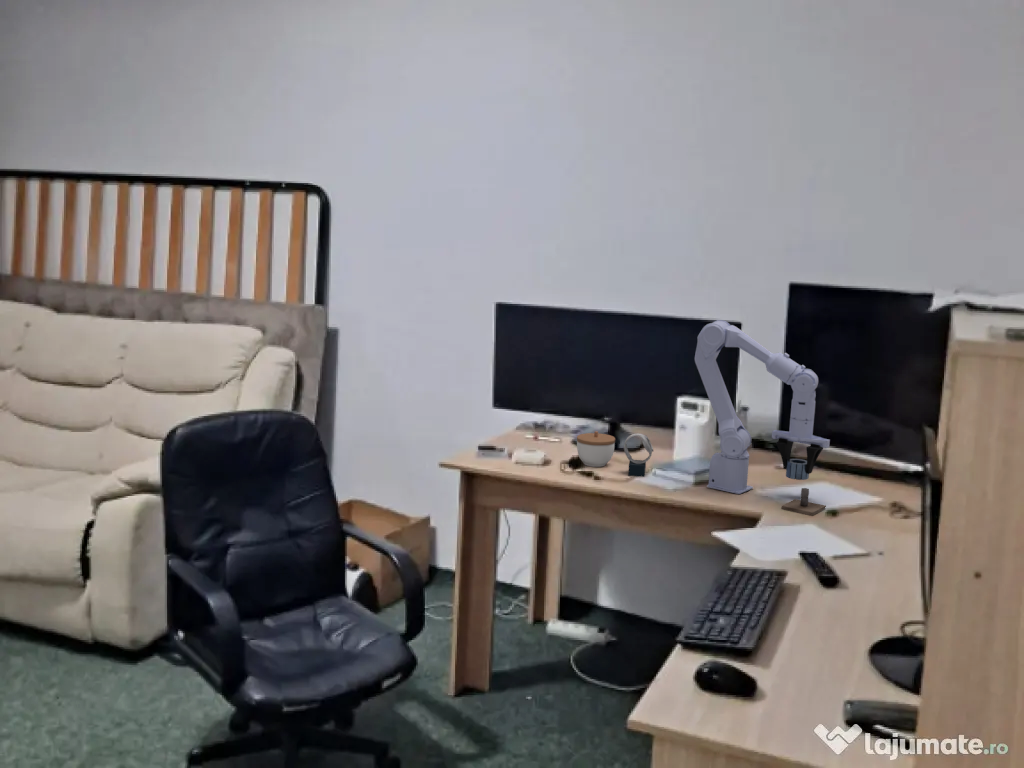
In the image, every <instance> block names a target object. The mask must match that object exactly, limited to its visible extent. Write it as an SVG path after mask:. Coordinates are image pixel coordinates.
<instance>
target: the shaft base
mask: <svg viewBox="0 0 1024 768" xmlns="http://www.w3.org/2000/svg"><path fill="white" fill-rule="evenodd" d="M800 491H801V492H800V499H798V498H794V499H792V500H790V501H788V502H786V503H784V504H782V505H781V508H780V509H781V510H785V511H790V512H794V513H799V514H803V515H807V516H812V517H813V516H815V515H817V514H819V513H821V512H822V510H823V509H824V508H825V507H826V508H827V505H826V504H820V503H816V502H812V501H809V496H810V495H809V494H810V489H809V488H806V487H801V490H800ZM824 510H825V509H824ZM824 510H823V511H824Z"/></svg>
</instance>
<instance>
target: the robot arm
mask: <svg viewBox="0 0 1024 768" xmlns="http://www.w3.org/2000/svg"><path fill="white" fill-rule="evenodd" d="M723 347H725V348H739V349H740V350H742V351H744V352H745V353H746V354H748V355H750V356H752V357H754V358H755V359H757V360H758V361H760V362H762V363H763V364H764V365H765V368H766V371H767V372H768V373H770V374H771V375H772V376H774V377H775V378H777V379H779V380H780V381H782V382H783V383H784V384H786V385H788V386H789V385H790V387H791V389H792V399H791V408H790V418H789V431H785V430H779V429H774V430H772V431H771V439H774V440H777V439H778V440H777V441H776V446H777V449H778V452H779V453H780V456H781V461H782V467H783V469H784V470H786V466H787V460H788V459H791V455H792V454H791V453H792V448H793V444H794V443H799V444H805V445H808V446H806V448H805V450H806V461H807V466H806V473H807V474H809V475H810V474H812V473H813V471H814V467H815V464H816V463H817V460H818V457H819V455H820V454H821V452H822V451H823V449H829V448H830V443H831V439H827V438H824V437H821V436H817V435H814V434H813V433H814V425H815V424H814V423H815V414H816V396H817V395H816V394H817V393H816V389H817V388H818V384H819V377H818V375H817V374H816V372H814V370H812V369H810V368H806V366H805V365H804V364H802V365H801V364H799V363H797V362H796V361H795V360H793V359H791V358H790V354H788V353H787V352H784V354H783V353H782V352H781V351H780V352H772V351H770V350H769V349H767V348H766V346H763V345H762V344H761V343H759V342H758V341H757V340H756V339H754V338H752V337H751V336H750V335H748V333H746V332H744V331H743V330H741V329H740V328H738V327H737V326H735V325H734V324H730V323H729V322H728V321H726V320H724V319H717V320H714V321H713V322H710V323H707V324H706V325H703V327H702V329H701V331H700V332H699V334H698V335H697V343H696V348H695V355H694V363H695V366H696V369H697V370H698V374H699V376H700V379H701V381H702V384H703V386H704V390H705V392H706V394H707V397H708V400H709V402H710V405H711V407H712V411H713V412H714V415H715V418H716V420H717V424H718V435H719V438H720V444H719V448H720V450H721V451H720V452H715V453H714V454H712V455H711V458H710V460H709V461H710V462H709V469H708V470H709V471H708V484H707V485H706V487H707V488H709V489H714V490H718V491H722V492H723V491H724V492H728V493H731V494H736V495H741V494H743V493H746V492H748V491H751V490H753V489H754V486H752V485H748V479H749V478H748V477H749V465H750V464H749V462H750V453H749V452H748V448H749V447H750V445H752V436H751V434H750V431H748V429H746V428H745V426H744V424H743V422H742V421H741V419H740V418H739V417H738V416H737V413H736V410H735V408H734V405H733V403H732V400H731V397H730V394H729V392H728V389H727V386H726V384H725V381H724V378H723V376H722V373H721V371H720V367H719V365H718V362H717V358H718V356H719V353H720V352H721V350H722V348H723Z"/></svg>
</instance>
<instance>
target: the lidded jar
mask: <svg viewBox="0 0 1024 768" xmlns="http://www.w3.org/2000/svg"><path fill="white" fill-rule="evenodd" d="M576 440H577V441H576V449H577V454H578V457H579V459H580V460H581V461H582V463H583V464H584V466H587V467H592V468H593V467H594V468H599V467H600V468H602V467H606V464H608V463H609V462H610V461H611V460H612V457H613V455H614V452H615V447H616V446H615V445H616V444H615V443H616V437H615V436H613V435H610V434H605V433H599V431H597V430H596V431H595V430H594V431H593V432H588V433H587V432H586V433H580V434H578V435H577V436H576Z"/></svg>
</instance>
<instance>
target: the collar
mask: <svg viewBox="0 0 1024 768" xmlns="http://www.w3.org/2000/svg"><path fill="white" fill-rule="evenodd" d="M806 466H807V459H806V460H805V459H801V458H790V459H788V460H787V466H786V469H785V470H786V471H785V477H786V478H788V479H792V480H796V481H798V480H799V481H805V480H809V477H810V476H809V475H810V474H807V473H806Z"/></svg>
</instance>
